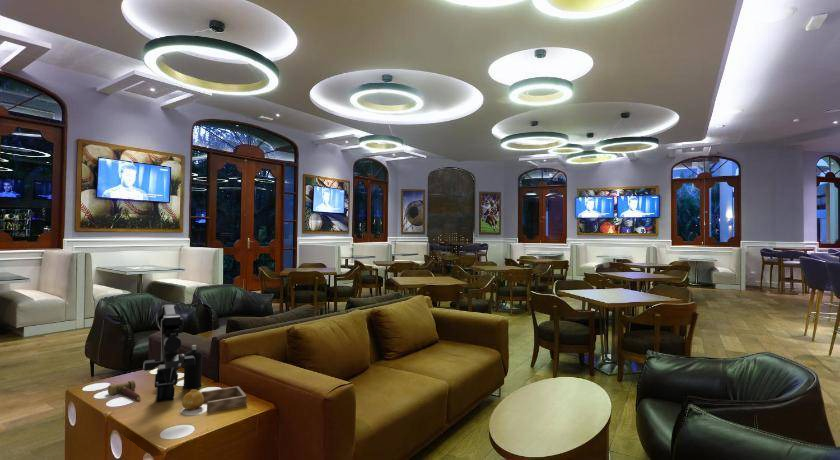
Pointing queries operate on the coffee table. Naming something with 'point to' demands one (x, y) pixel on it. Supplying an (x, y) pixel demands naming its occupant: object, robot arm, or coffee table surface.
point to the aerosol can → (193, 370)
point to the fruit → (193, 400)
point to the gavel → (124, 390)
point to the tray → (224, 403)
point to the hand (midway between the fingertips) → (168, 383)
